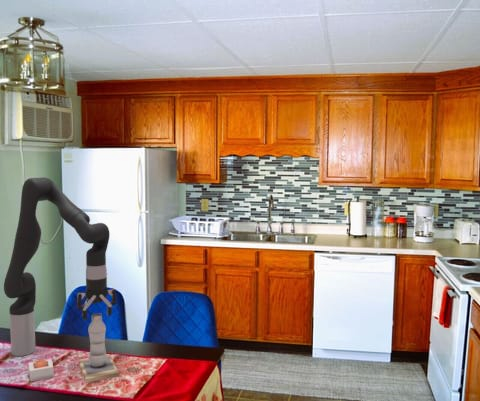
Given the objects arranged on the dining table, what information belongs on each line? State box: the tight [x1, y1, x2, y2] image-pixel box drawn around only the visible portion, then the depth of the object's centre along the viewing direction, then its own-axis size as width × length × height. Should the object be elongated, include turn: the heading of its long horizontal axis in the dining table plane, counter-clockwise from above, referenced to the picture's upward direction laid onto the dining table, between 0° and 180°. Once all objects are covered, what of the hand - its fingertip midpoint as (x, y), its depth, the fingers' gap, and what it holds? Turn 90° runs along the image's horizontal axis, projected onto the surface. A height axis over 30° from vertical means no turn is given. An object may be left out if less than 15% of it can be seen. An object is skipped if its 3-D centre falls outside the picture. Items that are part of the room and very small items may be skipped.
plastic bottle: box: [87, 312, 108, 367], centre depth 181 cm, size 6×7×20 cm
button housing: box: [28, 358, 55, 383], centre depth 177 cm, size 8×8×4 cm
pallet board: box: [78, 354, 120, 384], centre depth 182 cm, size 18×12×2 cm, turn 27°
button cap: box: [34, 359, 47, 368], centre depth 177 cm, size 4×4×4 cm
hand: (97, 317), depth 180 cm, fingers open, 8 cm apart
